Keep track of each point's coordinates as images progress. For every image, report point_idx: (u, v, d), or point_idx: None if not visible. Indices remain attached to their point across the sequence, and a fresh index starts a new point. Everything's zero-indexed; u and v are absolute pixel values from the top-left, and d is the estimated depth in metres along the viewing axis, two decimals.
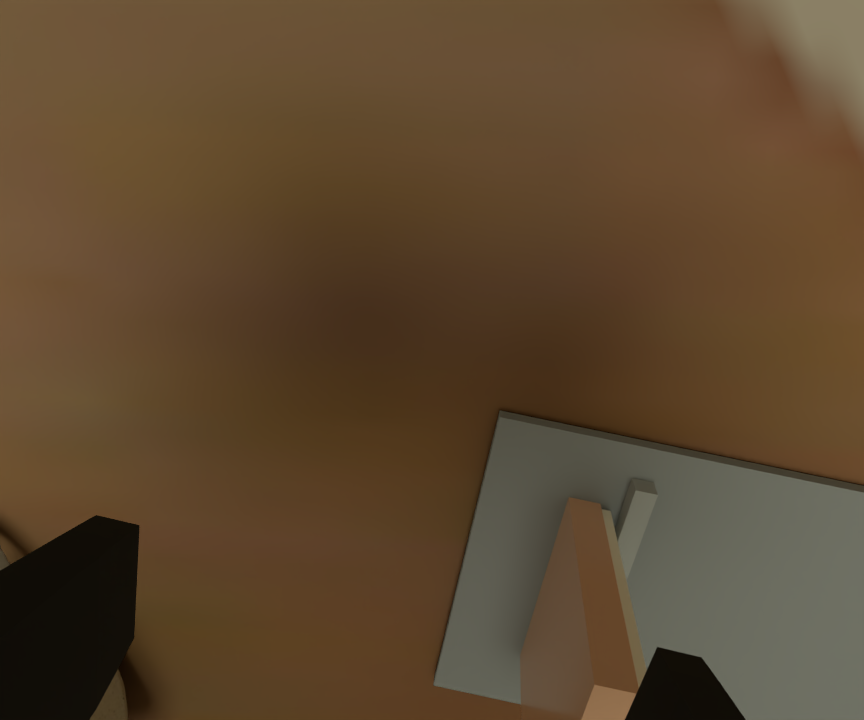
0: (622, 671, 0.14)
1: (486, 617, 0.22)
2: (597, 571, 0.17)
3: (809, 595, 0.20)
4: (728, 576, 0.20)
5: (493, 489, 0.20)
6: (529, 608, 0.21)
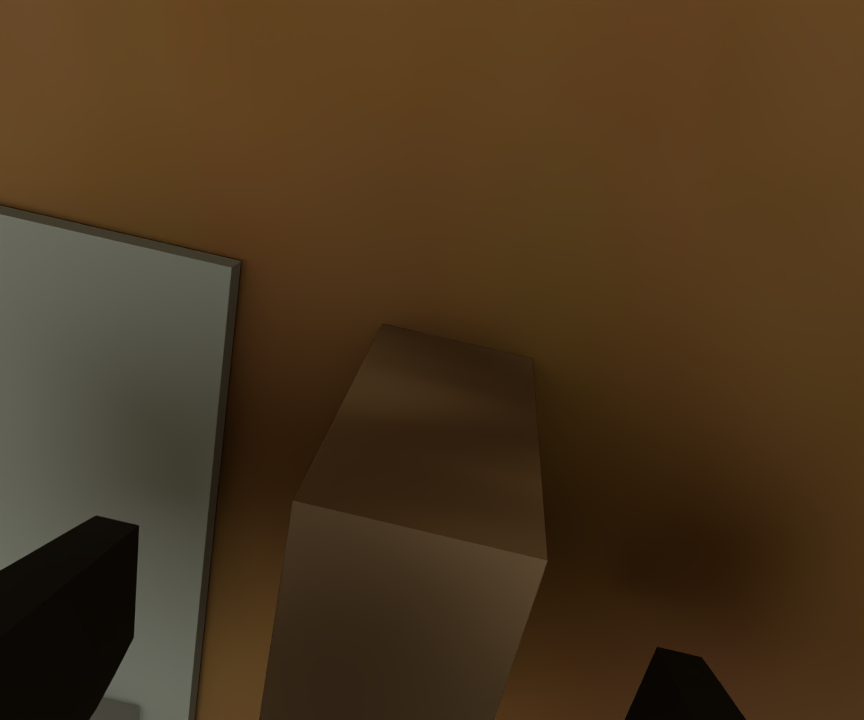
0: None
1: None
2: None
3: None
4: None
5: None
6: None
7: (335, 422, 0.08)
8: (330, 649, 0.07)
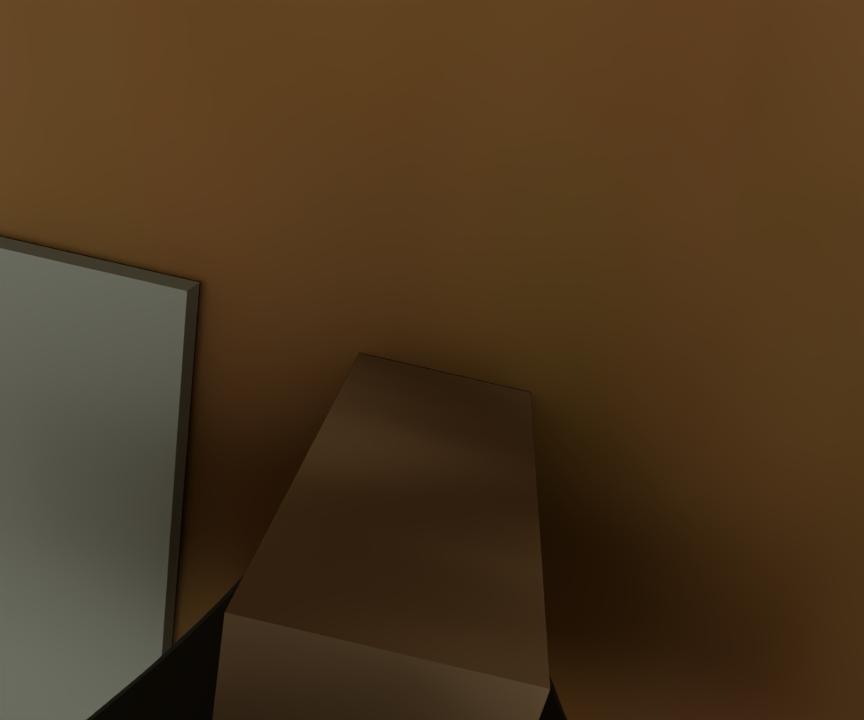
0: None
1: None
2: None
3: None
4: None
5: None
6: None
7: (291, 491, 0.07)
8: None
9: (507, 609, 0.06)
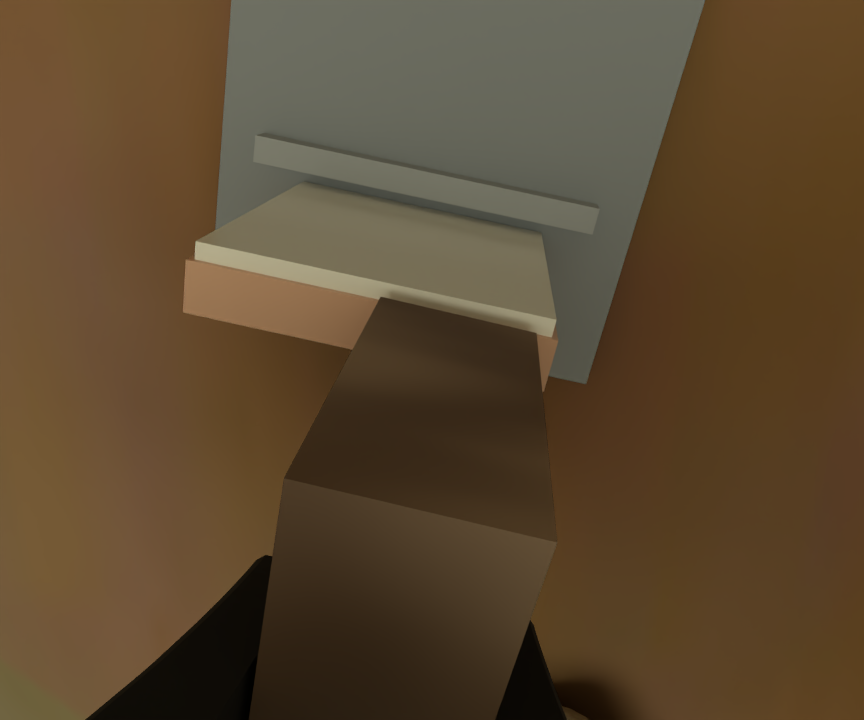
0: None
1: None
2: None
3: None
4: (387, 19, 0.15)
5: None
6: None
7: (330, 397, 0.08)
8: (323, 635, 0.07)
9: (520, 487, 0.07)
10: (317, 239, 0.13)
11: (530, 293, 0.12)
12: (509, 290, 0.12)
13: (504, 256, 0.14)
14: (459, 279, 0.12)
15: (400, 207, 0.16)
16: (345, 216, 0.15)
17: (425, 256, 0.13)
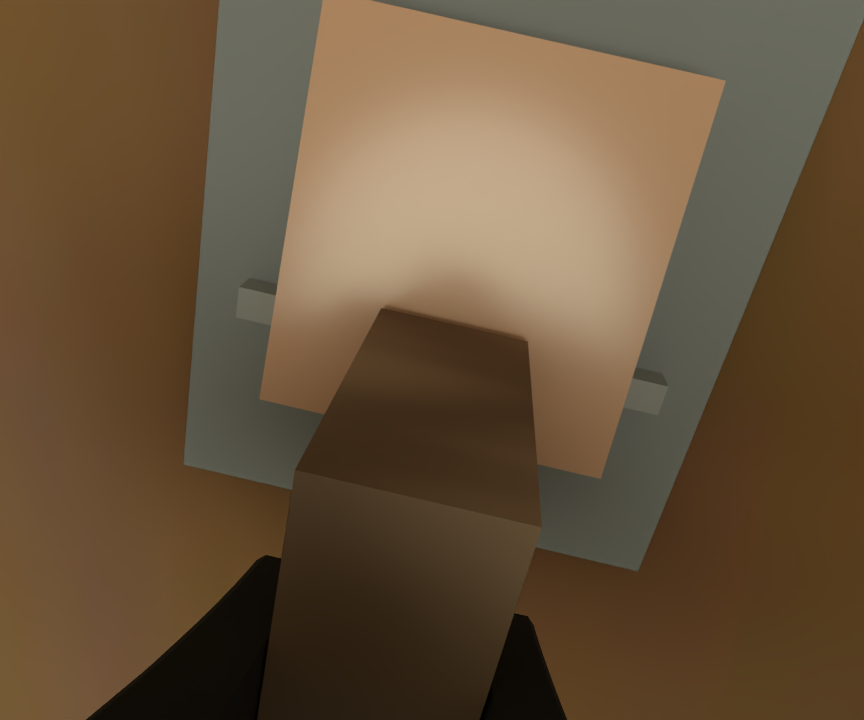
0: None
1: None
2: None
3: (438, 3, 0.11)
4: None
5: (287, 475, 0.15)
6: None
7: (335, 399, 0.08)
8: (330, 618, 0.07)
9: (509, 480, 0.07)
10: None
11: None
12: None
13: None
14: None
15: None
16: None
17: None
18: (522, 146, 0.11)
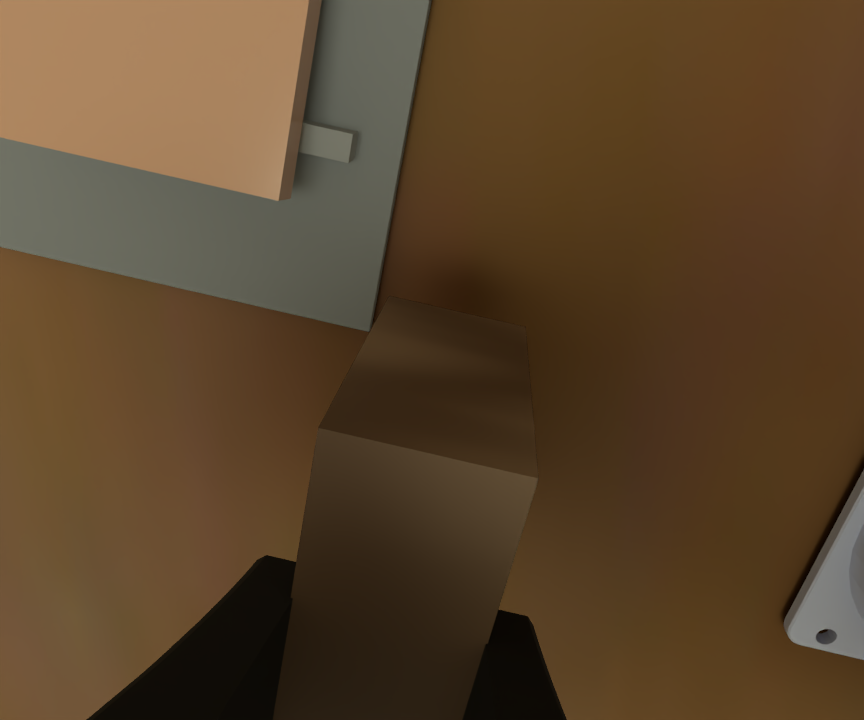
0: None
1: (243, 258, 0.17)
2: None
3: None
4: None
5: (58, 247, 0.17)
6: (220, 204, 0.16)
7: (351, 372, 0.09)
8: (348, 564, 0.08)
9: (509, 440, 0.08)
10: None
11: None
12: None
13: None
14: None
15: None
16: None
17: None
18: None
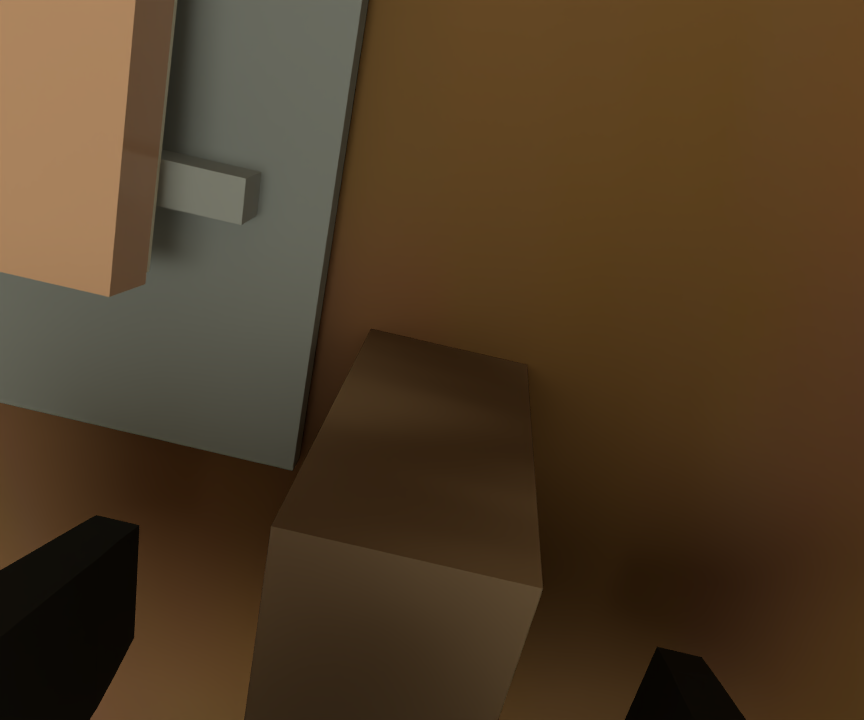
0: None
1: (95, 363, 0.11)
2: None
3: None
4: None
5: None
6: None
7: (319, 437, 0.08)
8: (312, 679, 0.07)
9: (507, 530, 0.07)
10: None
11: None
12: None
13: None
14: None
15: None
16: None
17: None
18: None
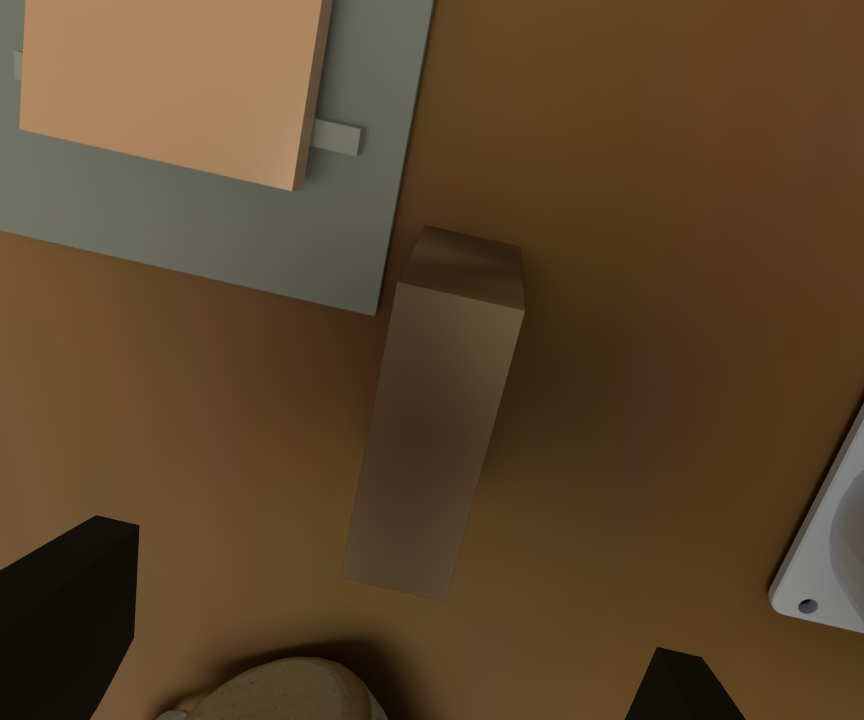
0: None
1: (256, 247, 0.18)
2: None
3: None
4: None
5: (81, 236, 0.18)
6: (235, 195, 0.17)
7: (409, 260, 0.14)
8: (411, 369, 0.14)
9: (508, 295, 0.14)
10: None
11: None
12: None
13: None
14: None
15: None
16: None
17: None
18: None
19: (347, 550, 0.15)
